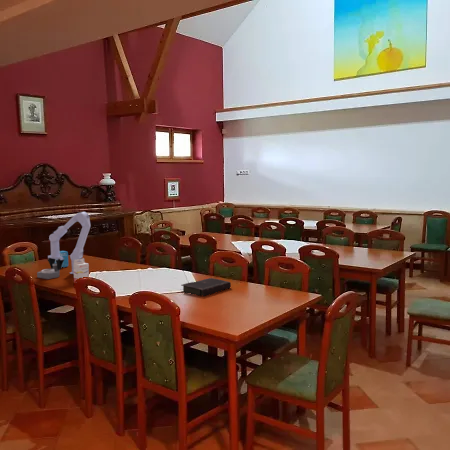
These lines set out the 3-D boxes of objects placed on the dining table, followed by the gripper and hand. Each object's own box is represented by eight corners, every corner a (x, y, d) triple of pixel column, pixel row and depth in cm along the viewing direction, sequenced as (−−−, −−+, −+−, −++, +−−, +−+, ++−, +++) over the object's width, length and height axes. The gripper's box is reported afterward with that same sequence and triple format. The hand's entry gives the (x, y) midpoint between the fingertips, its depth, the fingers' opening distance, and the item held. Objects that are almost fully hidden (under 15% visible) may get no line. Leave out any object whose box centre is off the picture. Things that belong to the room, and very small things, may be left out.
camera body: (59, 276, 324) (59, 269, 324) (48, 279, 317) (47, 272, 316) (48, 275, 331) (48, 268, 331) (37, 277, 324) (36, 270, 323)
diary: (231, 289, 285) (231, 281, 284) (203, 298, 266) (203, 289, 265) (208, 284, 296) (208, 277, 296) (180, 292, 277) (179, 284, 277)
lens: (61, 273, 337) (60, 263, 336) (55, 274, 333) (55, 264, 333) (57, 272, 340) (56, 262, 339) (51, 273, 336) (51, 264, 335)
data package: (54, 268, 353) (53, 253, 352) (51, 268, 356) (50, 252, 355) (68, 266, 362) (67, 251, 361) (65, 265, 365) (64, 250, 364)
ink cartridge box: (78, 283, 305) (77, 260, 303) (73, 282, 308) (72, 259, 306) (89, 280, 311) (88, 258, 310) (85, 279, 314) (84, 258, 313)
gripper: (43, 250, 335) (44, 268, 337) (56, 251, 327) (57, 271, 329) (52, 248, 341) (53, 267, 343) (65, 250, 333) (66, 269, 335)
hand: (56, 269), depth 336 cm, fingers open, 7 cm apart
